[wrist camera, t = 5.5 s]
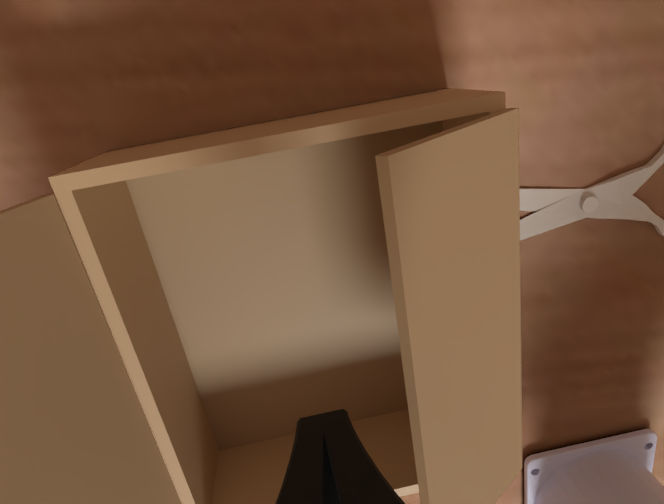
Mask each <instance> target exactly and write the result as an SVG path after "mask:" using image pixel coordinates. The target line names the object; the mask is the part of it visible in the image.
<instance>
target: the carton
mask: <svg viewBox="0 0 664 504" xmlns="http://www.w3.org/2000/svg"><path fill="white" fill-rule="evenodd" d="M504 109H506V108H505V92H500V91H484V90H467V89H450V88H447V89H442V90H436V91H431V92H425V93H420V94H415V95H409V96H404V97H399V98H393V99H388V100H382V101H377V102H372V103H366V104H361V105H355V106H350V107H345V108H339V109H334V110H329V111H323V112H318V113H312V114H307V115H302V116H296V117H291V118H285V119H280V120H275V121H269V122H264V123H259V124H253V125H248V126H242V127H237V128H232V129H226V130H221V131H215V132H210V133H205V134H199V135H194V136H189V137H183V138H178V139H172V140H167V141H162V142H156V143H151V144H145V145H140V146H135V147H129V148H124V149H118V150H113V151H108V152H105V153H103V154H100V155H98V156H96V157H93V158H91V159H89V160H87V161H84V162H82V163H80V164H77V165H75V166H73V167H71V168H68V169H66V170H64V171H61V172H59V173H57V174H54V175H52V176H50V177H48V179H49V182H50V184H51V187H52V189H53V191H54V194H55V196H56V199H57V201H58V204H59V206H60V208H61V211H62V213H63V216H64V218H65V221H66V223H67V225H68V228H69V230H70V233H71V235H72V238H73V240H74V242H75V245H76V247H77V250H78V252H79V255H80V257H81V259H82V262H83V264H84V267H85V269H86V272H87V274H88V276H89V279H90V281H91V284H92V286H93V289H94V291H95V293H96V296H97V298H98V301H99V303H100V306H101V308H102V310H103V313H104V315H105V318H106V320H107V323H108V325H109V327H110V330H111V332H112V335H113V337H114V340H115V342H116V345H117V347H118V349H119V352H120V354H121V357H122V359H123V362H124V364H125V366H126V369H127V371H128V374H129V376H130V379H131V381H132V383H133V386H134V388H135V391H136V393H137V396H138V398H139V400H140V403H141V405H142V408H143V410H144V413H145V415H146V417H147V420H148V422H149V425H150V427H151V430H152V432H153V434H154V437H155V439H156V442H157V444H158V447H159V449H160V451H161V454H162V456H163V459H164V461H165V464H166V466H167V468H168V471H169V473H170V476H171V478H172V481H173V483H174V485H175V488H176V490H177V493H178V495H179V498H180V500H181V502H182V504H275V503H276V500H277V498H278V495H279V492H280V489H281V486H282V483H283V480H284V477H285V473H286V470H287V467H288V463H289V460H290V456H291V452H292V448H293V443H294V439H295V433H296V426H297V421H298V420H299V419H300V418H303V417H308V416H312V415H317V414H321V413H326V412H331V411H335V410H340V409H344V410H346V411H347V412H348V416H349V418H350V421H351V423H352V426H353V428H354V430H355V432H356V434H357V435H358V437H359V439H360V441H361V443H362V444H363V446H364V448H365V449H366V451H367V453H368V454H369V456H370V457H371V459H372V460H373V462H374V463H375V465H376V466H377V468H378V469H379V471H380V472H381V473H382V475H383V476H384V478H385V479H386V480H387V481H388V483H389V484H390V485H391V487H392V488H393V489H394V491H395V492H396V493H397V494H398V496H399V497H401V496H405V495H410V494H414V493H418V492H419V487H418V480H417V472H416V464H415V457H414V449H413V441H412V434H411V426H410V419H409V411H408V403H407V396H406V388H405V380H404V373H403V365H402V357H401V350H400V342H399V334H398V327H397V319H396V311H395V304H394V296H393V288H392V281H391V273H390V265H389V258H388V250H387V243H386V235H385V227H384V220H383V212H382V204H381V197H380V189H379V181H378V174H377V166H376V158H375V156H376V155H378V154H381V153H384V152H387V151H389V150H392V149H395V148H398V147H401V146H403V145H406V144H409V143H412V142H415V141H417V140H420V139H423V138H426V137H429V136H431V135H434V134H437V133H440V132H442V131H445V130H448V129H451V128H454V127H456V126H459V125H462V124H465V123H468V122H470V121H473V120H476V119H479V118H481V117H484V116H487V115H490V114H493V113H495V112H498V111H501V110H504Z"/></svg>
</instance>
